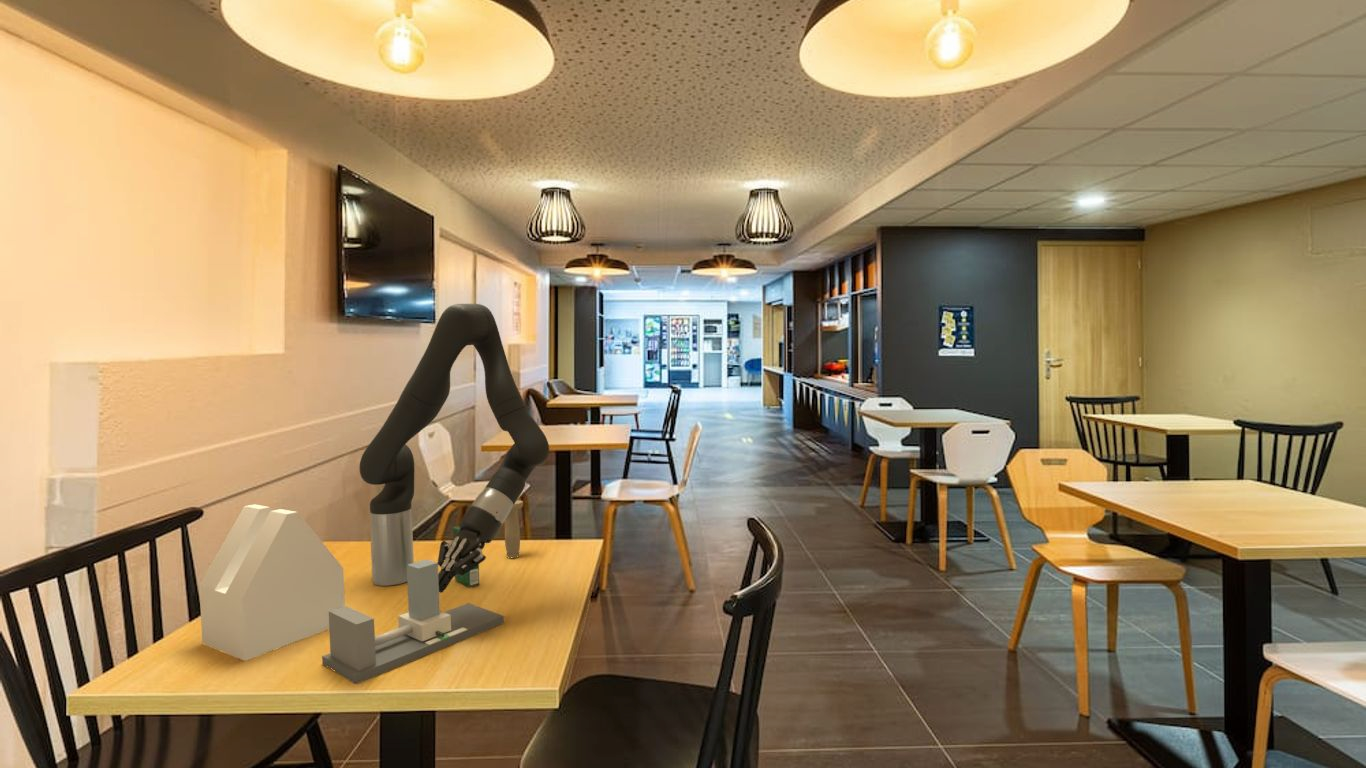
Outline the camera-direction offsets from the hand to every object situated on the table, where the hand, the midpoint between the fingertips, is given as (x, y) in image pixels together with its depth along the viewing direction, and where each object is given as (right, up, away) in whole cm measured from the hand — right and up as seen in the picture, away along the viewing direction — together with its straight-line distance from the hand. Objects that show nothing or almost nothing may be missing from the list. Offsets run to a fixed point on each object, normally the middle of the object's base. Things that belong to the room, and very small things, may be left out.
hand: (436, 590), depth 128 cm
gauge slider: (-3, -7, -6) cm, 10 cm away
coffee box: (-4, -8, +30) cm, 31 cm away
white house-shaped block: (-33, -10, +3) cm, 35 cm away
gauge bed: (-2, -9, -3) cm, 10 cm away
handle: (+2, -7, +49) cm, 50 cm away
